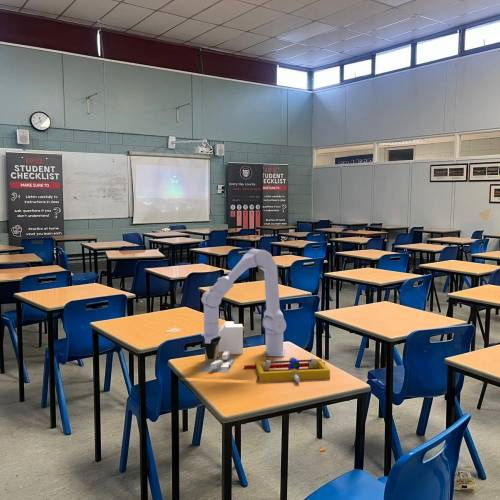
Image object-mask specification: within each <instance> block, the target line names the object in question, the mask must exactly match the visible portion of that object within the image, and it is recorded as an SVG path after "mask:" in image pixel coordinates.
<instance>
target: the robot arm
mask: <svg viewBox="0 0 500 500" xmlns="http://www.w3.org/2000/svg"><path fill="white" fill-rule="evenodd" d="M256 267H258V268H259V269H260V270H262V271H263V274H264V275H263V278H264V291H265V292H264V293H265V307H266V309H265V310H264V311H263V319H262V327H263V328H264V329H265V330H264V331H265V353H266V356H265V357H276V358H278V357H282V358H283V357H284V356H285V353H286V349H285V348H284V332H285V330H286V329H287V323H286V320H285V318H284V314H283V312H282V311H281V308H280V294H279V276H278V265H277V263H276V262H275V259H274V258H273V257H272V253H270V252H269V251H267V250H265V249H259V248H258V249H257V248H250V249H249V250H247V252H246V253H244V254H243V256H242V258H241V259H240V260H239V261H238V263H237V264H236V265H235V266H234V267H233V268H232V269H231V270H230V272H229V273H228V274H227V275H225V276H224V275H223V276H221V277H217V279H216V280H217V281H216V282H215V283H214V285H212V287H211V286H210V287H209V290H206V291H204V292H203V294H202V297H200V300H201V302H202V305H203V332H201V334H200V336H202V337H204V339H203V340H202V342H201V343H202V346H203V347H204V351H205V350H206V354H207V358H208V359H213V358H214V353H215V347H216V344H219V341H220V339H221V336H220V333H219V328H220V320H219V319H220V315H219V314H220V313H219V311H220V310H219V308H220V307H219V305H221V304H222V299H223V298H224V297H225V296H226V295H227V294H228V293H229V291H230V290H231V289H232V288H233V287H234V282H235V281H236V280H237V279H238V278H239V277H240V276H241V275H242V274H243V273H244V272H245V271H247V270H248V269H250V268H256Z"/></svg>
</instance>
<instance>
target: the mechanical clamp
mask: <svg viewBox="0 0 500 500" xmlns="http://www.w3.org/2000/svg"><path fill="white" fill-rule="evenodd" d="M243 366H244V367H243V369H244V370H255V369H256V372H257V375H258V380H259V382H274V381H275V382H276V381H277V382H278V381H279V382H280V381H295V382H296V383H300V381H301V380H321V379H320V378H323V379H331V369H330V368H329V367H328V366H327V364H326V361H323V360H322V359H321V358H315V357H313V358H310V359H297V358H295V357H290V358H289V360H271V359H266V360H265V361H254V364H253V365H252V364H250V365H243ZM286 368H287V370H279V371H278V370H276V371H270V369H286ZM300 368H308V369H300Z"/></svg>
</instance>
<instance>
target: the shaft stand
mask: <svg viewBox="0 0 500 500" xmlns="http://www.w3.org/2000/svg"><path fill="white" fill-rule="evenodd" d="M236 359H237V357H236V356H234V357H233V356H231V354H230V350H225V351H224V352H222V355H221V356H219V360H215V361H214V362H205V361H204V363H203V364H202V366H201V367H200V368H199V369H198V370H197V373H223V374H224V373H226V374H227V373H229V372H230V370H231V368H232V366H233V364H234V363H235V361H236Z"/></svg>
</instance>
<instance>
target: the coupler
mask: <svg viewBox="0 0 500 500" xmlns="http://www.w3.org/2000/svg"><path fill="white" fill-rule="evenodd" d="M219 354H220V352H219V344H216V347H215V353H214V358H213V359H208V358H207V354H206V350H205V349H204V363H205V362H214V361H215V360H219V357H220V355H219Z"/></svg>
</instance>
